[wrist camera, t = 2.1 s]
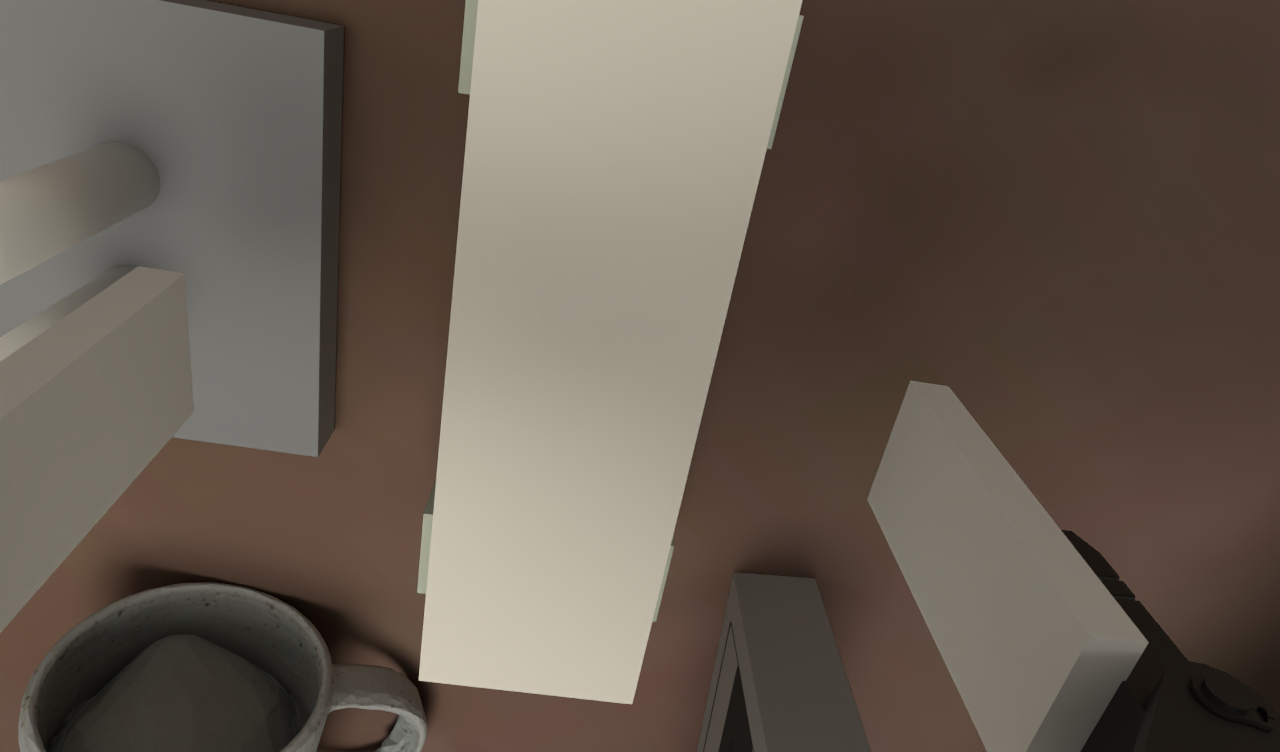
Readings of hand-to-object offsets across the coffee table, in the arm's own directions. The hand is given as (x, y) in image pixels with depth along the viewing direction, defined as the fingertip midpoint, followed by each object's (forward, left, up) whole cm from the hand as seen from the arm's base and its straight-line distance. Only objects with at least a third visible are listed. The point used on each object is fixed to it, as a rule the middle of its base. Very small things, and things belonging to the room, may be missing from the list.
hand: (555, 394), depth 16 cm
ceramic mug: (+8, +16, -8) cm, 20 cm away
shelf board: (0, 0, -3) cm, 3 cm away
